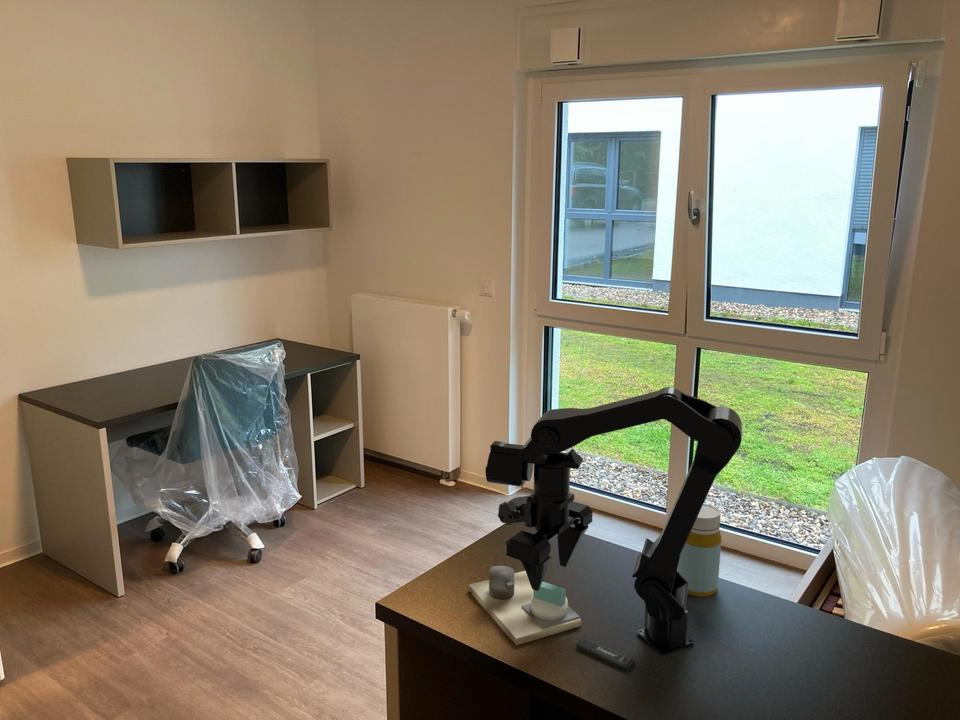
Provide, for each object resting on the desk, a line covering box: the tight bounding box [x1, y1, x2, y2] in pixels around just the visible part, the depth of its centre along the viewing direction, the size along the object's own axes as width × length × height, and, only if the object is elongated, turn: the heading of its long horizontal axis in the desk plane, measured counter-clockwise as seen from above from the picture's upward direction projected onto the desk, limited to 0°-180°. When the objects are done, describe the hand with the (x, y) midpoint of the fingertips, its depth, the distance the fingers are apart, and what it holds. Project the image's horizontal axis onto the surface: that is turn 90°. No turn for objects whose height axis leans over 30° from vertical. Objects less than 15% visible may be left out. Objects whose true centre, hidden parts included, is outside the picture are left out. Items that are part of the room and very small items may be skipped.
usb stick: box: [576, 637, 636, 672], centre depth 119 cm, size 10×3×2 cm, turn 49°
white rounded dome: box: [531, 581, 569, 621], centre depth 128 cm, size 6×6×4 cm
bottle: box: [677, 503, 722, 598], centre depth 136 cm, size 7×7×15 cm
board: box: [468, 565, 582, 646], centre depth 131 cm, size 18×12×5 cm, turn 25°
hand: (549, 577), depth 127 cm, fingers open, 9 cm apart
